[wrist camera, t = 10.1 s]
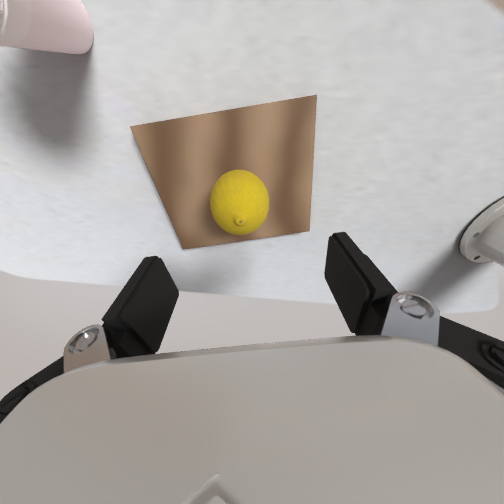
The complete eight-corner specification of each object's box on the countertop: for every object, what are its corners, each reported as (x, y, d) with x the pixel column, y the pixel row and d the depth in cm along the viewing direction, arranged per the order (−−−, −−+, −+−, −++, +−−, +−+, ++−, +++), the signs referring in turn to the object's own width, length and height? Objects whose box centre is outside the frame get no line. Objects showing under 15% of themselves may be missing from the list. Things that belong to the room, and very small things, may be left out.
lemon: (229, 218, 23) (225, 259, 17) (204, 175, 20) (189, 205, 14) (271, 200, 22) (284, 236, 16) (252, 151, 19) (260, 171, 13)
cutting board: (311, 95, 18) (316, 94, 17) (306, 225, 26) (309, 231, 25) (136, 125, 18) (129, 126, 17) (186, 243, 27) (183, 249, 26)
